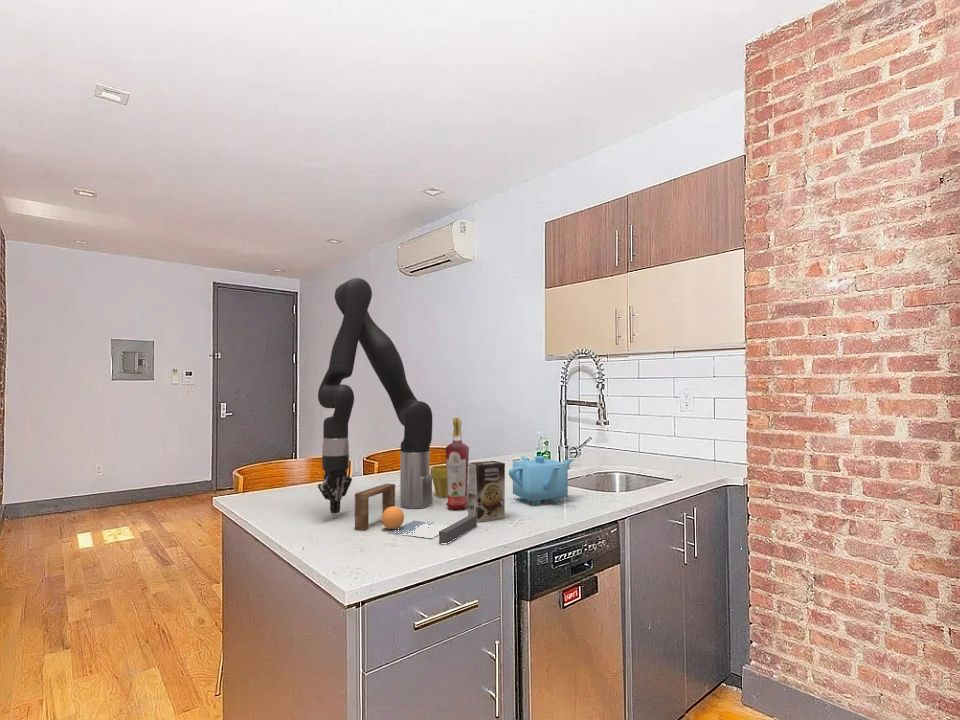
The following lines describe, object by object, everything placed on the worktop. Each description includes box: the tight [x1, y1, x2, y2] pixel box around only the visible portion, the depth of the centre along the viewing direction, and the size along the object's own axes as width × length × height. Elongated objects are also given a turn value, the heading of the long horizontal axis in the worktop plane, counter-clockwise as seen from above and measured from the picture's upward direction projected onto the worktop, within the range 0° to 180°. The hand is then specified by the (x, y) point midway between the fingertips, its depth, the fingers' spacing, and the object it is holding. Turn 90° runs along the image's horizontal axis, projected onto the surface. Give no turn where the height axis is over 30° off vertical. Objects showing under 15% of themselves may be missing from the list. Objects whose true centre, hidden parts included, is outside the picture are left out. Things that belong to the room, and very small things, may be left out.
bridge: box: [354, 483, 396, 532], centre depth 156 cm, size 3×15×10 cm, turn 156°
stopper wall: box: [438, 515, 478, 544], centre depth 145 cm, size 2×18×3 cm, turn 156°
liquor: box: [445, 417, 470, 511], centre depth 174 cm, size 7×7×28 cm
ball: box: [381, 505, 405, 530], centre depth 150 cm, size 6×6×6 cm
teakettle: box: [508, 455, 575, 506], centre depth 184 cm, size 19×19×15 cm
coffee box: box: [467, 460, 506, 523], centre depth 162 cm, size 9×6×16 cm
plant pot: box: [430, 464, 448, 498], centre depth 192 cm, size 10×10×10 cm
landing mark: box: [387, 520, 434, 537], centre depth 150 cm, size 13×13×1 cm
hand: (335, 512), depth 162 cm, fingers closed
